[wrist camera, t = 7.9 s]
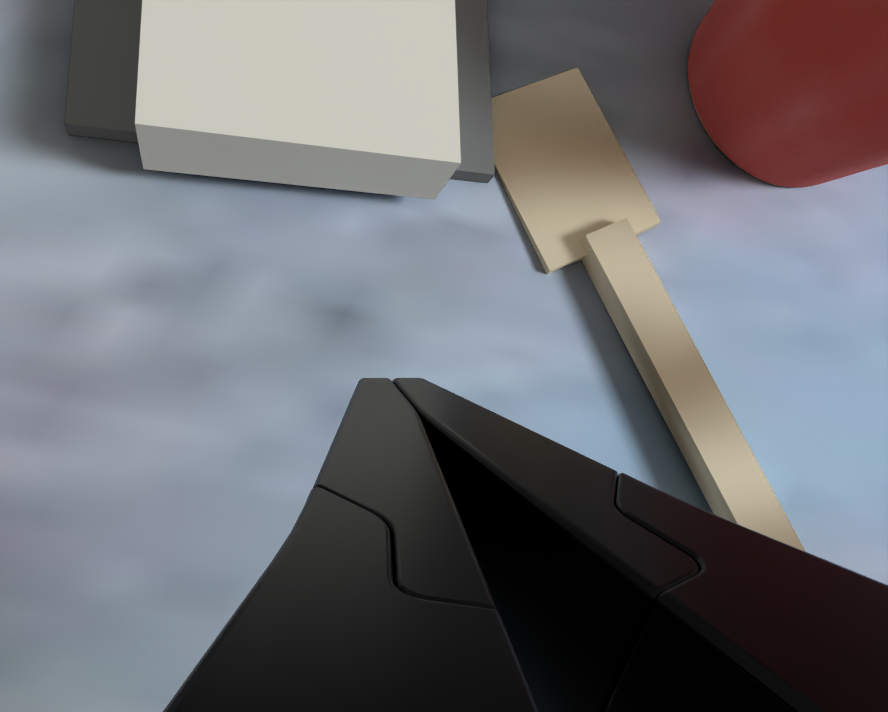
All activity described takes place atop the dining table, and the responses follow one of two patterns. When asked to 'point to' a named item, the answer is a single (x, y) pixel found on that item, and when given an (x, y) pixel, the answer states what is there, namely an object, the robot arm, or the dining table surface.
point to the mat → (116, 72)
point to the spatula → (624, 277)
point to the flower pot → (794, 86)
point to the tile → (302, 92)
